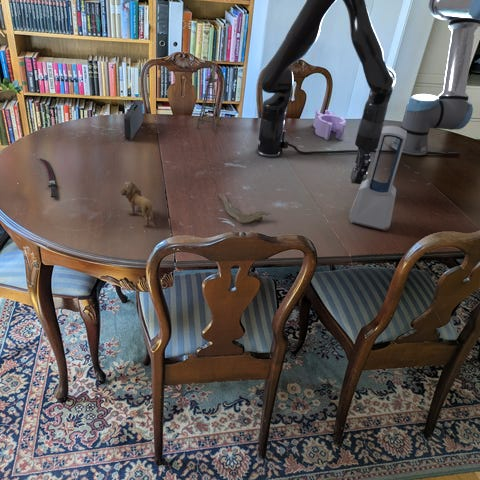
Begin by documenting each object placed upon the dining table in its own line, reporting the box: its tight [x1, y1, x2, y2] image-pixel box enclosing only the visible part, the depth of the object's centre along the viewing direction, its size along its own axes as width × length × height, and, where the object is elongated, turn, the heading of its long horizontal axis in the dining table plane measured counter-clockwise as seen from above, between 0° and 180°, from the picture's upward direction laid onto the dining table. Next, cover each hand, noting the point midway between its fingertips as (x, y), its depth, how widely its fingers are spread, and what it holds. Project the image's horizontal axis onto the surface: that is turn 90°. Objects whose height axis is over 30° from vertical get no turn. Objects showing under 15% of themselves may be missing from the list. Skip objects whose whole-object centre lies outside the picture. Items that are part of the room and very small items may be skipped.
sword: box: [40, 158, 59, 198], centre depth 151 cm, size 31×3×1 cm, turn 26°
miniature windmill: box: [196, 55, 220, 132], centre depth 197 cm, size 9×8×30 cm
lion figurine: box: [119, 181, 159, 227], centre depth 134 cm, size 15×5×9 cm, turn 50°
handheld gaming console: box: [123, 99, 144, 141], centre depth 190 cm, size 23×3×10 cm, turn 178°
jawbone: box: [218, 193, 271, 225], centre depth 143 cm, size 9×20×2 cm, turn 50°
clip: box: [313, 109, 347, 141], centre depth 212 cm, size 20×12×7 cm, turn 11°
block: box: [350, 166, 368, 185], centre depth 159 cm, size 4×4×4 cm
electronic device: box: [348, 125, 407, 232], centre depth 137 cm, size 12×8×30 cm, turn 71°
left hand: (357, 180), depth 160 cm, fingers closed on block, 4 cm apart
